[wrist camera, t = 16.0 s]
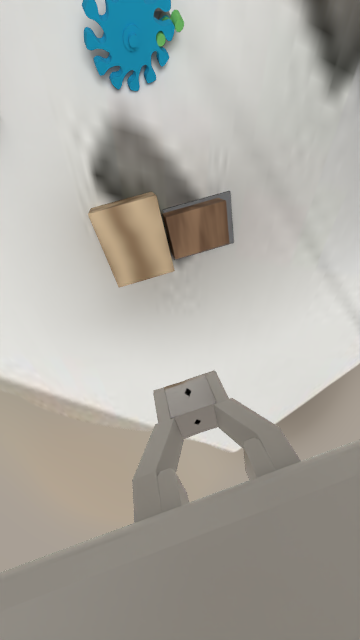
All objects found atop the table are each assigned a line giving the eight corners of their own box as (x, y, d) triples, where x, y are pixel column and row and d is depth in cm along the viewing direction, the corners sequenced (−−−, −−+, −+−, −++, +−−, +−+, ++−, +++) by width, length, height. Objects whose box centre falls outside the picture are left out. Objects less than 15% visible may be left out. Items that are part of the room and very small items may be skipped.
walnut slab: (162, 213, 39) (218, 197, 39) (171, 253, 43) (222, 238, 43) (165, 217, 36) (226, 200, 37) (175, 259, 40) (229, 243, 41)
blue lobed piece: (98, 101, 29) (71, -36, 19) (83, 64, 30) (50, -84, 20) (179, 87, 31) (193, -41, 21) (163, 54, 32) (169, -85, 22)
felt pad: (229, 190, 39) (230, 191, 39) (232, 242, 45) (233, 242, 44) (162, 209, 39) (162, 210, 38) (174, 259, 44) (174, 260, 44)
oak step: (151, 191, 37) (156, 195, 33) (169, 261, 44) (174, 270, 40) (91, 208, 36) (87, 214, 32) (118, 276, 43) (118, 287, 39)
